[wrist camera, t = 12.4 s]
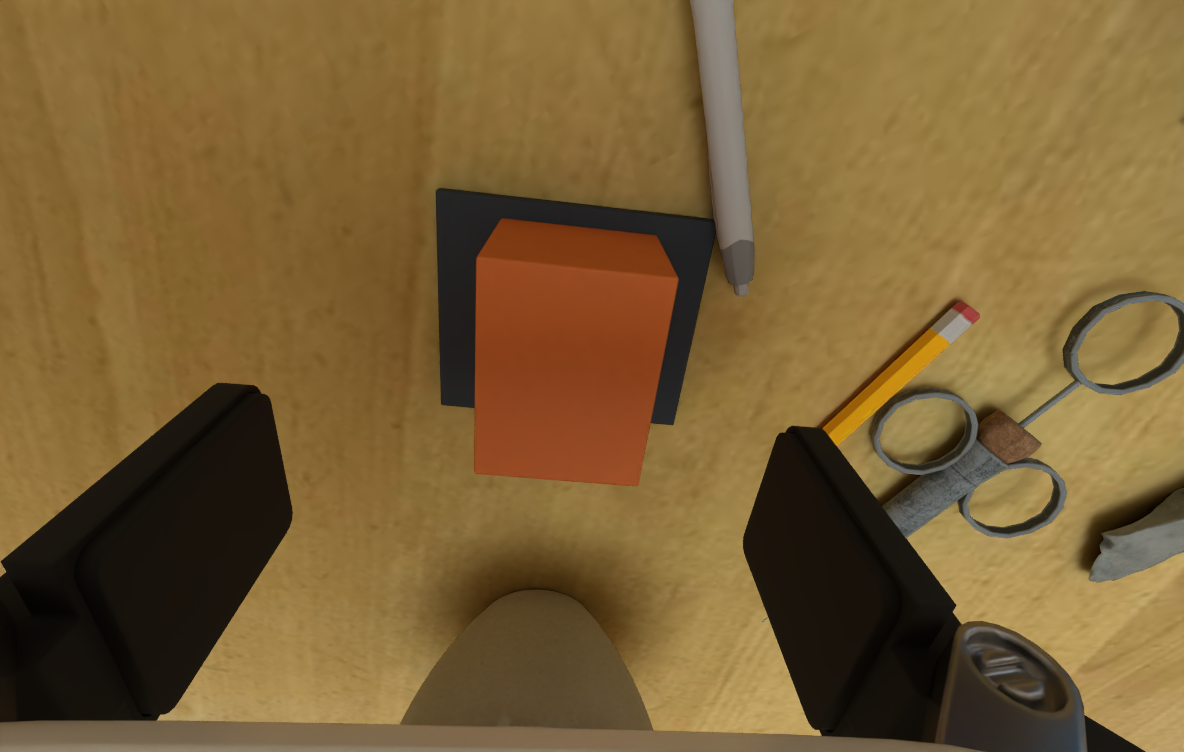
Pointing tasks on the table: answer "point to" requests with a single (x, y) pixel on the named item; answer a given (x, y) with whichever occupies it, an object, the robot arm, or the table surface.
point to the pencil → (902, 371)
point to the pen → (725, 138)
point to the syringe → (1005, 437)
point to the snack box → (568, 350)
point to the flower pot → (531, 671)
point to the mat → (477, 215)
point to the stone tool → (1142, 541)
